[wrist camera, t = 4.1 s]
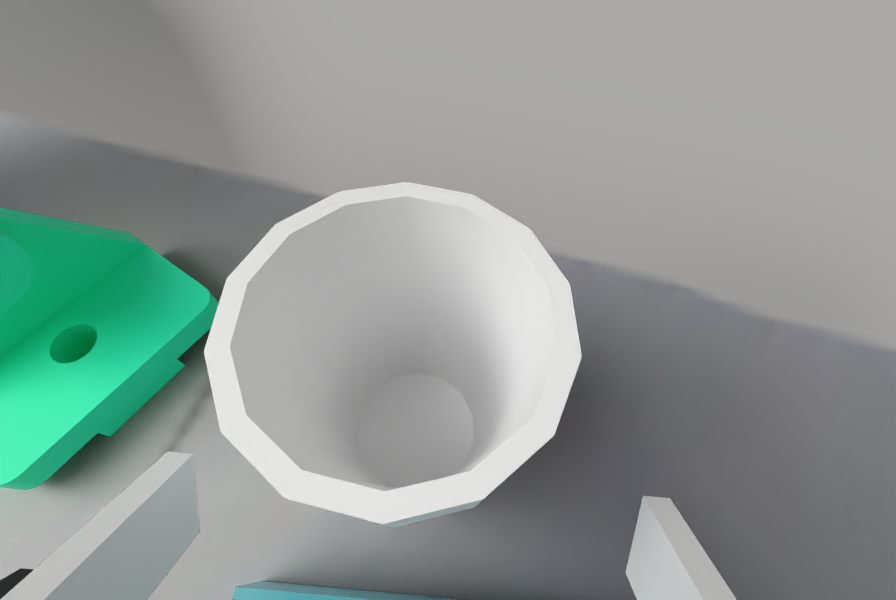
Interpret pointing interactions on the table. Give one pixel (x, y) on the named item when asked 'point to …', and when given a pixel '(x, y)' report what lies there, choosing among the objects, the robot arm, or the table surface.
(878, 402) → the table surface
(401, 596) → the teal tray
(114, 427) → the camera mount
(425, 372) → the foam cup
